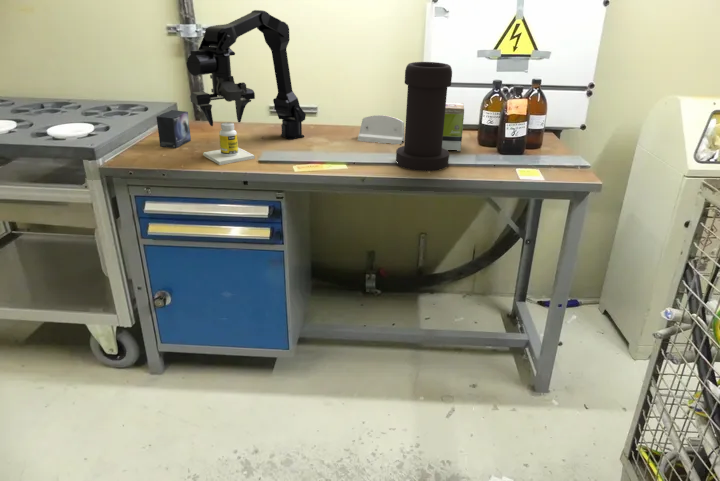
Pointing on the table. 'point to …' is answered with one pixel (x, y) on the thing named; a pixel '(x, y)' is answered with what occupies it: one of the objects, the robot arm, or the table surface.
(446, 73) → the pipe
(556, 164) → the table surface
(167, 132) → the small box
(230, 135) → the supplement bottle
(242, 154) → the pad
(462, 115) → the tea box
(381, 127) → the grey rounded upright plate
